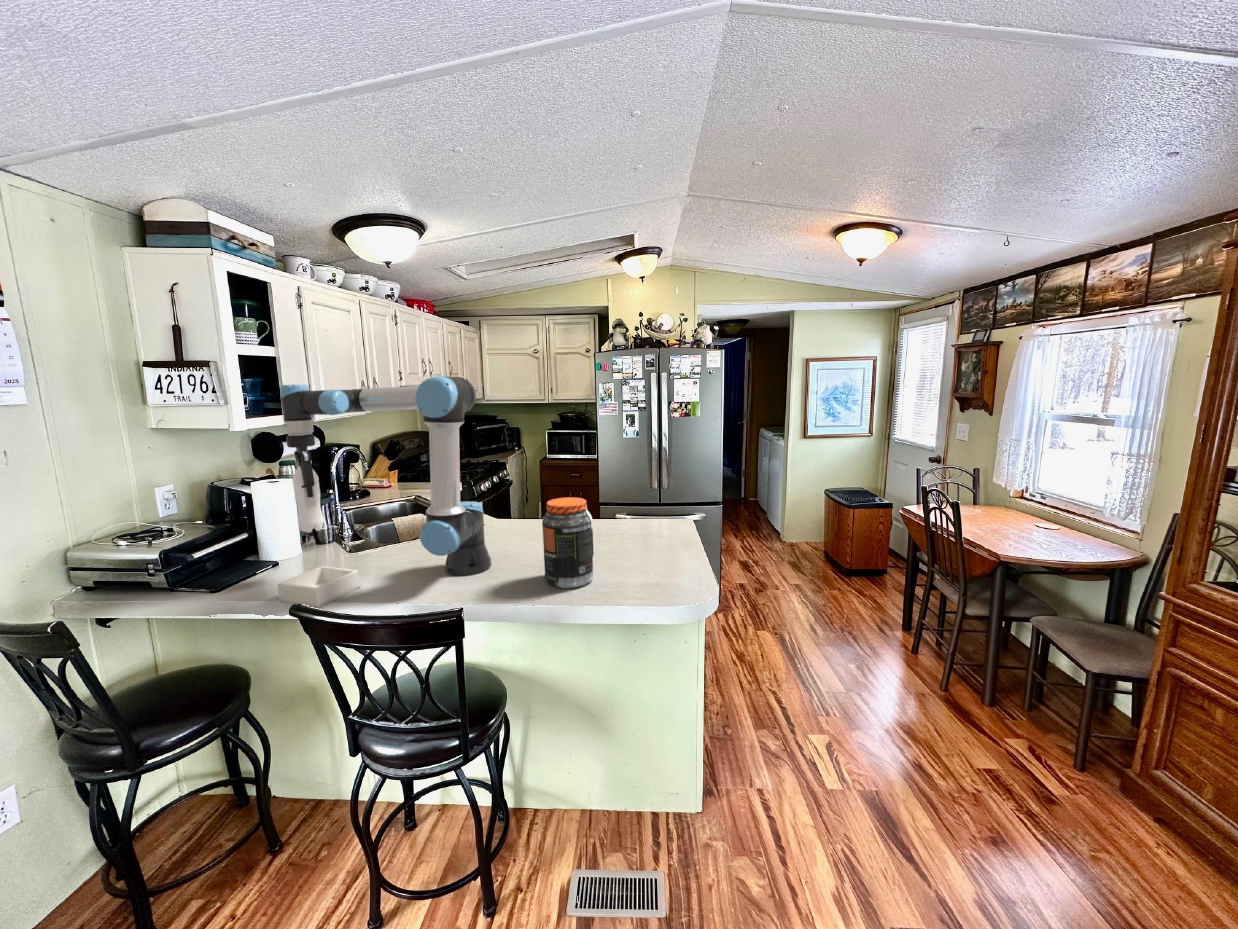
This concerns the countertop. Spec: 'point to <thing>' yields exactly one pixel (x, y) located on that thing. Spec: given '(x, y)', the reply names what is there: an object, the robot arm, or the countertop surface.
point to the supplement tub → (568, 543)
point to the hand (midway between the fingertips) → (308, 504)
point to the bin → (319, 586)
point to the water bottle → (306, 516)
